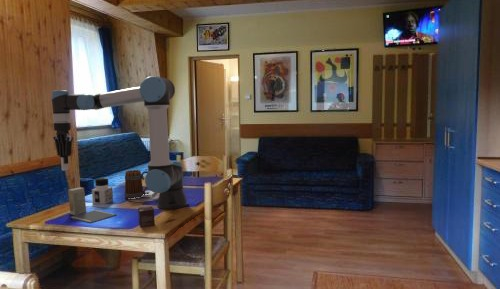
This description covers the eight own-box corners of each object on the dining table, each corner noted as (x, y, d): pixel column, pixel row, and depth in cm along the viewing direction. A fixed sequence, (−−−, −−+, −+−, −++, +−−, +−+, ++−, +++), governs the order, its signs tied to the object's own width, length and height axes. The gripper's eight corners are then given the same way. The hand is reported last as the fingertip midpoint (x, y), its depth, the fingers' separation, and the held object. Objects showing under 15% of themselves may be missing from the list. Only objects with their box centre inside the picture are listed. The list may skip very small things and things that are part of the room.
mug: (122, 200, 212) (120, 173, 211) (127, 195, 223) (125, 170, 221) (151, 198, 213) (149, 172, 212) (154, 194, 224) (153, 169, 222)
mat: (116, 215, 183) (116, 214, 183) (90, 223, 171) (90, 222, 171) (95, 210, 191) (95, 209, 191) (69, 218, 180) (69, 216, 180)
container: (105, 204, 204) (103, 179, 203) (92, 203, 206) (90, 179, 204) (113, 200, 212) (112, 177, 210) (100, 200, 213) (99, 176, 212)
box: (152, 221, 171) (151, 205, 170) (155, 225, 166) (154, 209, 165) (138, 223, 169) (137, 207, 168) (140, 227, 163) (139, 210, 163)
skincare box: (82, 210, 192) (80, 186, 190) (86, 212, 189) (84, 187, 188) (69, 213, 187) (67, 189, 185) (73, 215, 184) (71, 190, 183)
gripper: (77, 122, 187) (79, 170, 190) (61, 121, 194) (64, 167, 197) (62, 122, 181) (65, 172, 183) (47, 122, 188) (50, 170, 190)
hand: (65, 170), depth 190 cm, fingers closed
